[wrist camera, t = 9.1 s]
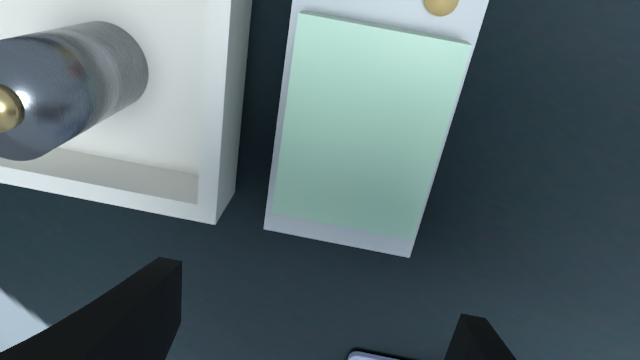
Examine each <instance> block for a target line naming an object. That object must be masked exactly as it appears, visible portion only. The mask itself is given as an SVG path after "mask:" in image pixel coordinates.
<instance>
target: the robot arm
mask: <svg viewBox="0 0 640 360" xmlns="http://www.w3.org/2000/svg"><path fill="white" fill-rule="evenodd" d="M181 295H182V261H178V260H172V259H167V258H162V257H158V258H157V259H155V260H154V261H152V262H151V263H149V264H148V265H146V266H145V267H143V268H142V269H140V270H139V271H137V272H136V273H134V274H133V275H131V276H130V277H129V278H127V279H126V280H124V281H123V282H121V283H120V284H118V285H117V286H115V287H114V288H112V289H111V290H109V291H108V292H106V293H105V294H103V295H102V296H100V297H98V298H97V299H95V300H94V301H92V302H91V303H89V304H88V305H86V306H84V307H83V308H81V309H79V310H78V311H76V312H74V313H73V314H71V315H69V316H68V317H66V318H64V319H63V320H61V321H59V322H58V323H56V324H54V325H53V326H51V327H49V328H47V329H45V330H44V331H42V332H40V333H38V334H36V335H34V336H32V337H31V338H29V339H27V340H25V341H23V342H21V343H19V344H17V345H15V346H13V347H11V348H9V349H7V350H5V351H3V352H0V360H165V358H166V356H167V354H168V352H169V349H170V347H171V345H172V342H173V340H174V338H175V335H176V333H177V330H178V328H179V326H180V323H181ZM348 360H398V359H393V358H388V357H383V356H378V355H374V354H369V353H364V352H358V351H355V352H352V353H350V354H349V356H348ZM444 360H516V358H515V357H514V356H513V354H512V353H511V352H510V350H509V349H508V348H507V346H506V345H505V344H504V342H503V341H502V340H501V338H500V337H499V335H498V334H497V333H496V331H495V330H494V329H493V327H492V326H491V325H490V323H489V322H488V321H487V320H486V318H482V317H477V316H471V315H466V314H461V315H460V318H459V321H458V323H457V326H456V329H455V332H454V334H453V337H452V340H451V342H450V345H449V348H448V351H447V353H446V356H445V359H444Z"/></svg>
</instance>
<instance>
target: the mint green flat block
mask: <svg viewBox="0 0 640 360" xmlns="http://www.w3.org/2000/svg"><path fill="white" fill-rule="evenodd" d="M471 48H472V45H471V44H470V43H469V42H468V41H465V40H460V39H455V38H449V37H444V36H438V35H433V34H428V33H422V32H417V31H411V30H406V29H401V28H395V27H390V26H385V25H379V24H374V23H368V22H363V21H358V20H352V19H347V18H341V17H336V16H331V15H325V14H320V13H314V12H309V11H304V10H302V11H300V12H299V13H298V19H297V26H296V34H295V41H294V49H293V56H292V64H291V71H290V79H289V86H288V93H287V101H286V108H285V116H284V123H283V131H282V138H281V146H280V153H279V161H278V168H277V175H276V183H275V190H274V198H273V205H272V213H276V214H281V215H286V216H291V217H296V218H301V219H306V220H312V221H317V222H322V223H327V224H332V225H337V226H342V227H347V228H352V229H357V230H363V231H368V232H373V233H378V234H383V235H388V236H393V237H398V238H403V239H408V240H413V238H414V235H415V231H416V228H417V225H418V221H419V218H420V215H421V212H422V208H423V205H424V202H425V198H426V195H427V192H428V189H429V185H430V182H431V179H432V176H433V172H434V169H435V166H436V162H437V159H438V156H439V153H440V149H441V146H442V143H443V139H444V136H445V133H446V130H447V126H448V123H449V120H450V117H451V113H452V110H453V107H454V103H455V100H456V97H457V94H458V90H459V87H460V84H461V81H462V77H463V74H464V71H465V67H466V64H467V61H468V58H469V54H470V51H471Z"/></svg>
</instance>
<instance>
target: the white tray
mask: <svg viewBox="0 0 640 360" xmlns="http://www.w3.org/2000/svg"><path fill="white" fill-rule="evenodd" d="M251 7H252V0H0V40H1V39H6V38H11V37H16V36H21V35H26V34H31V33H36V32H41V31H46V30H51V29H56V28H61V27H66V26H70V25H75V24H80V23H85V22H90V21H104V22H109V23H112V24H114V25H117V26H119V27H120V28H122V29H124V30H125V31H126V32H128V33H129V34H130V35H131V36H132V37H133V38H134V39H135V40H136V42H137V43H138V44H139V46H140V47H141V49H142V51H143V53H144V55H145V58H146V61H147V64H148V73H149V77H148V83H147V87H146V89H145V91H144V93H143V95H142V96H141V97H140V98H139V99H138V100H137V101H136V102H134V103H133V104H131V105H129V106H127V107H126V108H124V109H122V110H121V111H119V112H117V113H115V114H114V115H112V116H110V117H108V118H107V119H105V120H103V121H102V122H100V123H98V124H96V125H95V126H93V127H91V128H90V129H88V130H86V131H84V132H83V133H81V134H79V135H78V136H76V137H74V138H72V139H71V140H69V141H67V142H65V143H64V144H62V145H60V146H59V147H57V148H55V149H53V150H52V151H50V152H48V153H47V154H45V155H43V156H41V157H39V158H37V159H34V160H29V161H14V160H8V159H5V158H1V157H0V183H5V184H10V185H15V186H20V187H25V188H30V189H35V190H41V191H46V192H51V193H56V194H61V195H66V196H71V197H76V198H81V199H86V200H91V201H96V202H101V203H106V204H112V205H117V206H122V207H127V208H132V209H137V210H142V211H147V212H152V213H157V214H162V215H167V216H172V217H177V218H182V219H188V220H193V221H198V222H203V223H208V224H213V225H216V223H217V221H218V220H219V218H220V216H221V215H222V213H223V211H224V210H225V208H226V206H227V205H228V203H229V201H230V200H231V198H232V196H233V195H234V193H235V185H236V174H237V163H238V152H239V141H240V130H241V118H242V107H243V96H244V85H245V74H246V63H247V52H248V41H249V30H250V19H251Z"/></svg>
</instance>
